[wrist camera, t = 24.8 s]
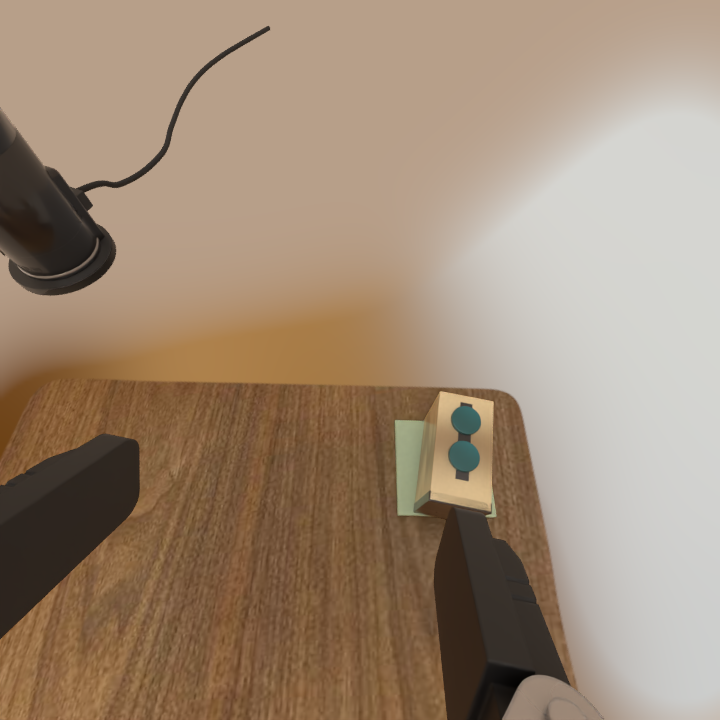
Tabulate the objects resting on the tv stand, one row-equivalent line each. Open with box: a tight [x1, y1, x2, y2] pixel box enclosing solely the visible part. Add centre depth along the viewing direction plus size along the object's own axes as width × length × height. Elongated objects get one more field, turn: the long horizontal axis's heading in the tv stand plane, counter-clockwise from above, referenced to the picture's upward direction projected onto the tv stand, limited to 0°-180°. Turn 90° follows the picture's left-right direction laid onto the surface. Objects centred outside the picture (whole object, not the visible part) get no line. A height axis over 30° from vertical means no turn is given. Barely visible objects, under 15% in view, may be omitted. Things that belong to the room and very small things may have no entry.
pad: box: [395, 420, 496, 518], centre depth 36 cm, size 9×9×1 cm
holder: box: [413, 391, 493, 519], centre depth 33 cm, size 9×5×7 cm, turn 169°
